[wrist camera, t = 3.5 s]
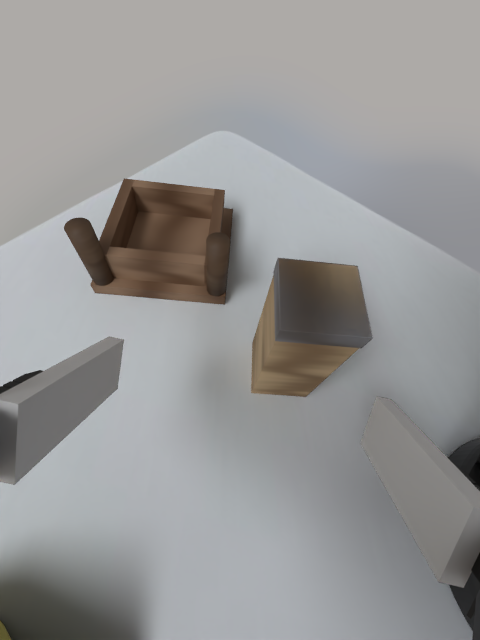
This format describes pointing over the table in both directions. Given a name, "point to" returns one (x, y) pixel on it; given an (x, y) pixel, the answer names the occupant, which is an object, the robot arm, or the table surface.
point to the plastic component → (3, 632)
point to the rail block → (307, 326)
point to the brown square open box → (159, 243)
